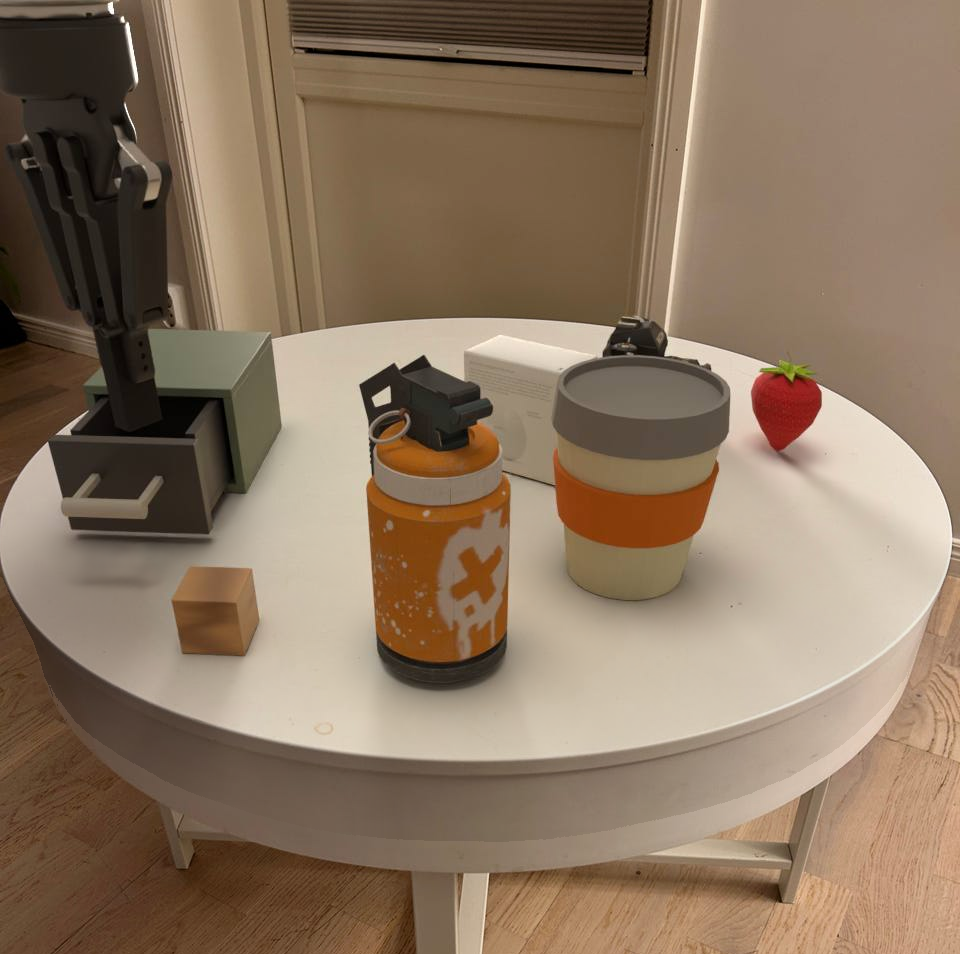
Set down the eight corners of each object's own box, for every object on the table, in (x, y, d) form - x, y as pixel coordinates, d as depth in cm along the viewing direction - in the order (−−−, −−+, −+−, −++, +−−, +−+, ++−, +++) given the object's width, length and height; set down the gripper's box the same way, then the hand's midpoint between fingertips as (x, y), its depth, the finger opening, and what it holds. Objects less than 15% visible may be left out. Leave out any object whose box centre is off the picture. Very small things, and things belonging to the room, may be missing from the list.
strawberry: (771, 471, 92) (791, 366, 87) (728, 439, 98) (744, 338, 92) (825, 462, 94) (848, 358, 88) (780, 431, 100) (799, 332, 94)
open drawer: (188, 571, 76) (170, 478, 71) (41, 566, 76) (14, 473, 72) (250, 461, 91) (238, 379, 87) (128, 458, 92) (110, 376, 87)
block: (181, 653, 69) (170, 600, 66) (200, 617, 72) (190, 565, 70) (244, 655, 68) (236, 602, 66) (259, 619, 72) (252, 567, 69)
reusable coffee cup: (676, 630, 71) (705, 435, 62) (517, 587, 76) (523, 399, 67) (724, 551, 80) (754, 371, 72) (579, 517, 85) (592, 343, 76)
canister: (429, 708, 64) (420, 414, 52) (335, 632, 71) (309, 357, 59) (533, 656, 69) (545, 375, 57) (435, 589, 76) (429, 326, 64)
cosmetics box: (591, 462, 94) (600, 352, 88) (557, 488, 89) (564, 374, 83) (498, 436, 98) (500, 330, 92) (461, 459, 94) (460, 350, 88)
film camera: (723, 460, 94) (740, 357, 88) (593, 459, 94) (601, 356, 88) (691, 389, 109) (703, 296, 103) (577, 388, 109) (583, 296, 103)
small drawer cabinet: (246, 493, 88) (230, 389, 83) (106, 488, 89) (81, 385, 83) (282, 426, 100) (270, 331, 94) (158, 422, 101) (140, 328, 95)
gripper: (188, 12, 53) (247, 429, 66) (44, 2, 59) (125, 384, 73) (64, 20, 48) (155, 468, 62) (-78, 8, 54) (33, 417, 68)
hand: (139, 422), depth 67 cm, fingers closed
